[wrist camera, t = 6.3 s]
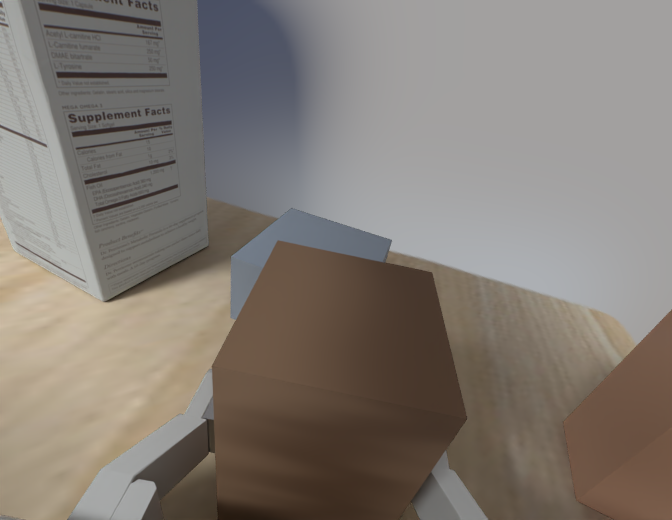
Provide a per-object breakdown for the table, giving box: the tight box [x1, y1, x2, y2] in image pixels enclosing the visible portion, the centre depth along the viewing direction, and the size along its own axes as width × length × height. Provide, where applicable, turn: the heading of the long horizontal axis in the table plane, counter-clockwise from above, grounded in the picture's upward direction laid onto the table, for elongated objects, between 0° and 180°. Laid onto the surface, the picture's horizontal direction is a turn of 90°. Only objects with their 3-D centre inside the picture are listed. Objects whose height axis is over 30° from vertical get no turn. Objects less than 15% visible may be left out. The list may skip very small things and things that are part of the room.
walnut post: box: [212, 240, 467, 520], centre depth 11 cm, size 4×4×11 cm
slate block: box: [231, 208, 392, 320], centre depth 23 cm, size 8×8×5 cm
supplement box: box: [0, 0, 209, 301], centre depth 21 cm, size 10×9×17 cm
